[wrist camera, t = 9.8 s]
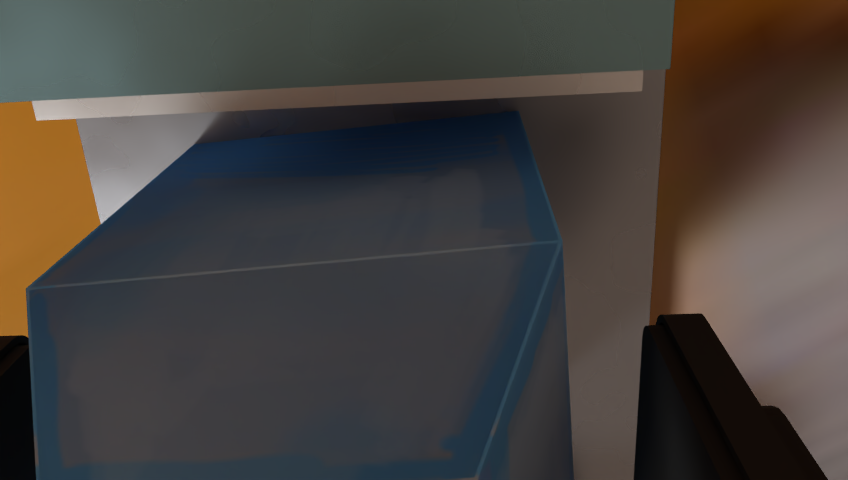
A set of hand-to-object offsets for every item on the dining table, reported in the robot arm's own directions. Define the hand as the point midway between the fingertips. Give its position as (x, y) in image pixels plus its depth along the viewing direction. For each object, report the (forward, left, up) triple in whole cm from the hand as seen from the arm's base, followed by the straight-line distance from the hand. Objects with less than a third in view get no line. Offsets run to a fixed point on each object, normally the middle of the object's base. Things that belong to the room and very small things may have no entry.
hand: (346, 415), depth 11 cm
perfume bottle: (0, 0, -5) cm, 5 cm away
